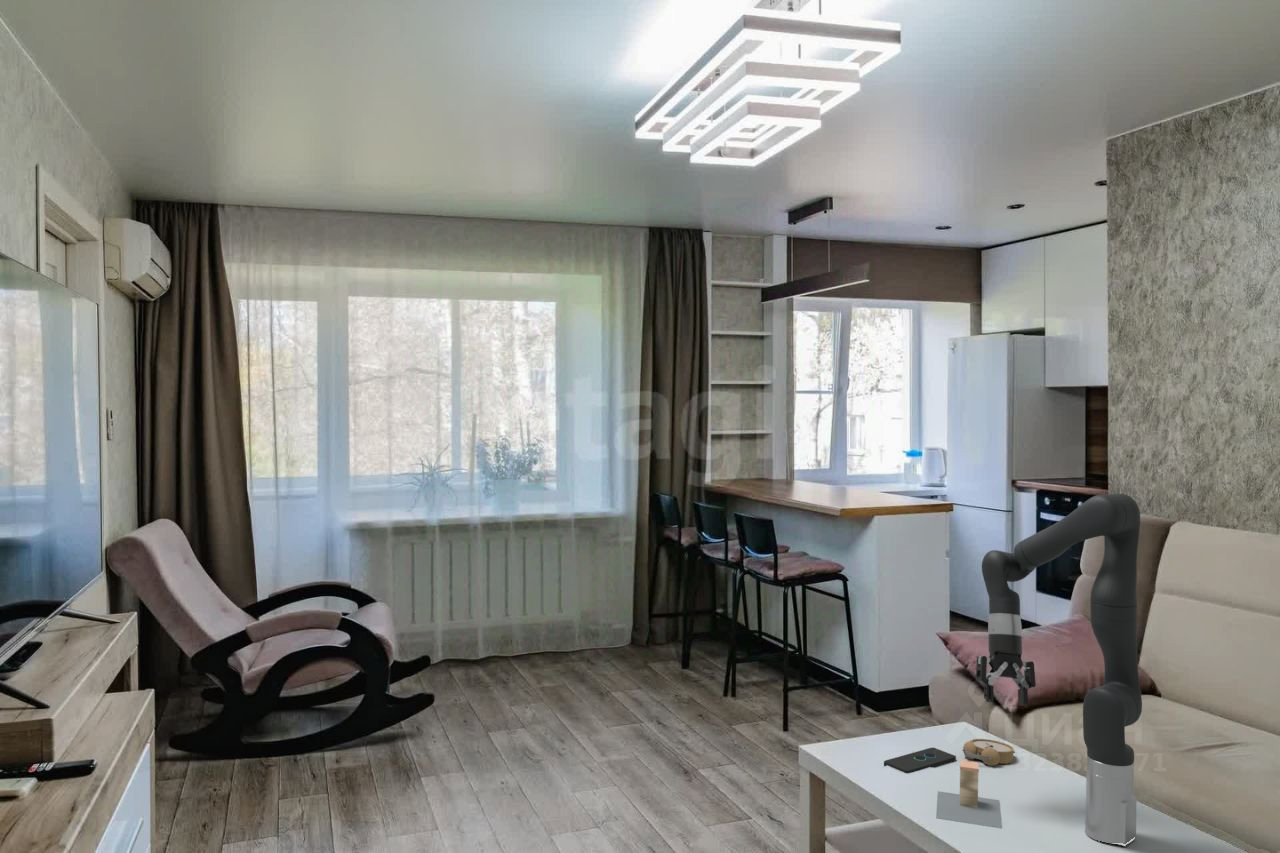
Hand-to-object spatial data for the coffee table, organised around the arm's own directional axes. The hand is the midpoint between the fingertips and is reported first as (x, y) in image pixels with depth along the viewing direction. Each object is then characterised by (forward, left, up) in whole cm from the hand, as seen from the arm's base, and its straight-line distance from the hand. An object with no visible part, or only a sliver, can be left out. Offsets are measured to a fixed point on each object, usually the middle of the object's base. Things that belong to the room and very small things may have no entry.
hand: (1006, 703), depth 217 cm
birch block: (+5, +7, -24) cm, 25 cm away
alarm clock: (+17, -25, -25) cm, 39 cm away
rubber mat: (+4, +10, -24) cm, 26 cm away
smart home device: (+27, -8, -25) cm, 38 cm away
